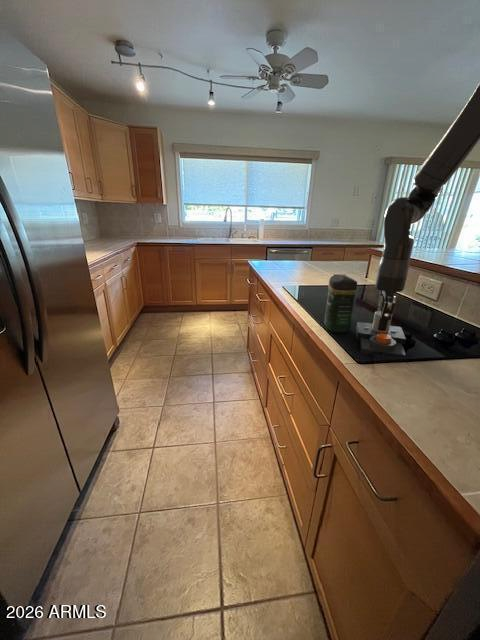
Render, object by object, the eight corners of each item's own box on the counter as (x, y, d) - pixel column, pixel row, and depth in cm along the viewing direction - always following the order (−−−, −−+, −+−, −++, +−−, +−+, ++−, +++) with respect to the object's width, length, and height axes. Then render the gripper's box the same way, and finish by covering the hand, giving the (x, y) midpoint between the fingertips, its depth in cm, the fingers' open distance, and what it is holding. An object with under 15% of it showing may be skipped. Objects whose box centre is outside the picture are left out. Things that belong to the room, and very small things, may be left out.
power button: (389, 339, 76) (390, 334, 75) (390, 345, 73) (392, 339, 72) (375, 337, 77) (376, 332, 77) (376, 343, 74) (377, 337, 74)
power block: (400, 348, 78) (403, 337, 76) (404, 360, 72) (407, 349, 70) (360, 342, 81) (362, 332, 80) (360, 353, 75) (362, 342, 74)
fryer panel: (399, 335, 85) (401, 326, 84) (403, 348, 78) (406, 338, 76) (356, 329, 90) (357, 321, 89) (356, 341, 82) (358, 332, 81)
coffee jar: (353, 334, 87) (362, 279, 79) (329, 334, 87) (336, 280, 79) (343, 322, 96) (350, 272, 88) (321, 322, 96) (327, 272, 88)
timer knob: (371, 325, 85) (374, 309, 83) (387, 327, 84) (391, 310, 81) (372, 331, 81) (375, 314, 79) (389, 333, 80) (393, 316, 77)
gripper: (412, 280, 68) (397, 338, 75) (402, 268, 80) (391, 319, 87) (380, 278, 71) (368, 334, 77) (375, 267, 83) (366, 316, 90)
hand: (380, 326), depth 82 cm, fingers closed on timer knob, 5 cm apart
